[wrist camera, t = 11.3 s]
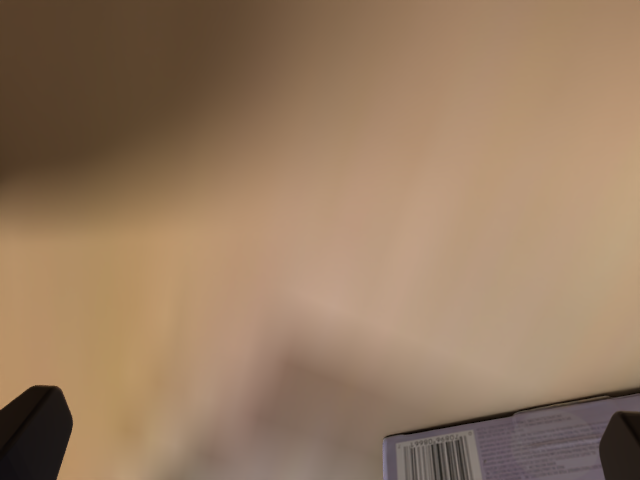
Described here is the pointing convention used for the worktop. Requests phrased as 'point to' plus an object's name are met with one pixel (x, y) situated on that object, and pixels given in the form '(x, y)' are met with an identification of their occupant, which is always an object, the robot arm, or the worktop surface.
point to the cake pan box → (511, 445)
